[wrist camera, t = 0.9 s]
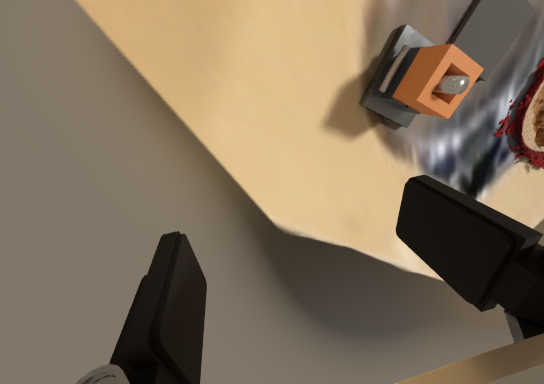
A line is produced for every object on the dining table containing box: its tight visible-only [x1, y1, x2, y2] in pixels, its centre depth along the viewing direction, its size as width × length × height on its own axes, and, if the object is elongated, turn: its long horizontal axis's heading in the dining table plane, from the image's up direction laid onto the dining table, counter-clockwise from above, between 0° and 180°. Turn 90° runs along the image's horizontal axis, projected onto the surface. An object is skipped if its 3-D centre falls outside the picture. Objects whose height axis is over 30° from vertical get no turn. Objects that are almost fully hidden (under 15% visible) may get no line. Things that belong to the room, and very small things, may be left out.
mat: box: [449, 0, 536, 81], centre depth 33 cm, size 10×10×1 cm
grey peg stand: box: [359, 24, 470, 128], centre depth 30 cm, size 11×10×10 cm
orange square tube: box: [392, 44, 484, 119], centre depth 29 cm, size 6×6×4 cm
